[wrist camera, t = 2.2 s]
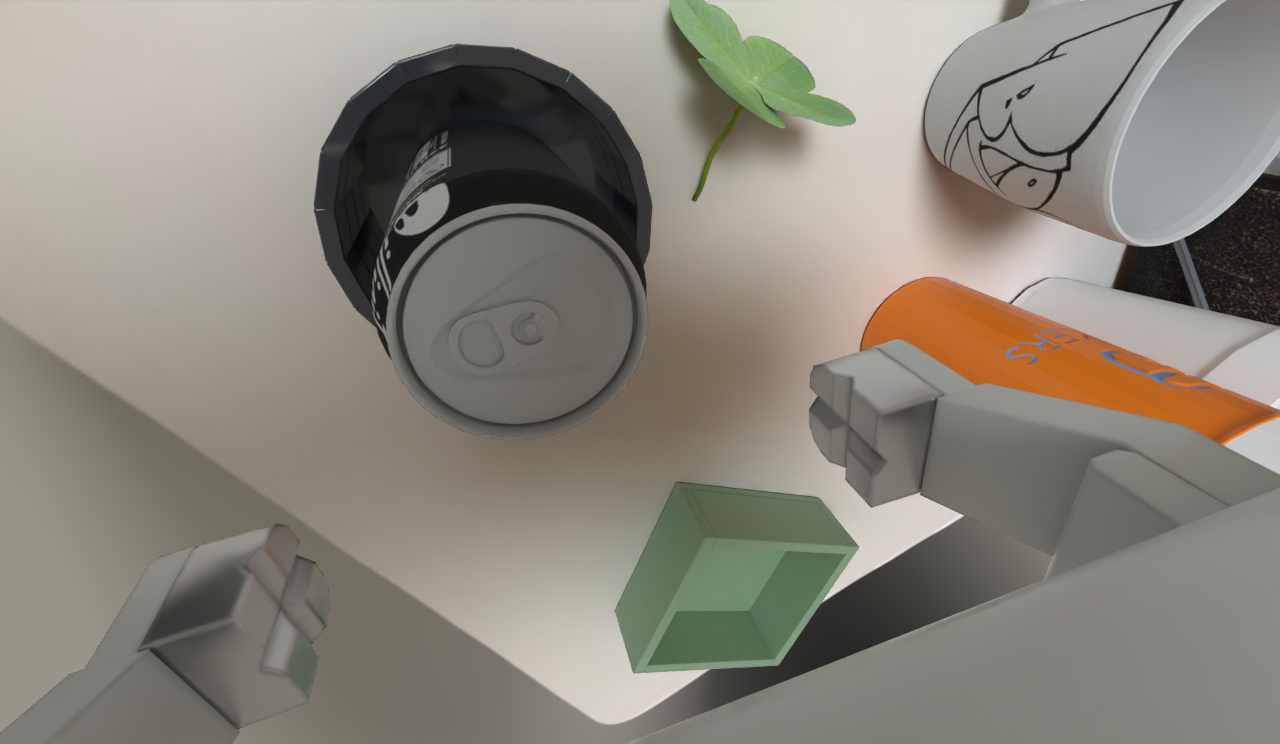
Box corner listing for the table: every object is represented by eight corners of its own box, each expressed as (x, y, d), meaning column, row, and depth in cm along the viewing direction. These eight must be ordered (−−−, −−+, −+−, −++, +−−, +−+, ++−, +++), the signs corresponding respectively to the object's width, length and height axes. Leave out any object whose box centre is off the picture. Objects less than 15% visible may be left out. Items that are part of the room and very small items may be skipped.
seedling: (664, 114, 27) (728, -26, 22) (786, 217, 27) (882, 98, 21) (572, 162, 23) (623, 2, 18) (715, 287, 22) (812, 159, 17)
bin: (614, 610, 38) (633, 673, 34) (676, 481, 33) (705, 537, 29) (748, 610, 42) (778, 665, 39) (818, 497, 38) (859, 547, 34)
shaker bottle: (938, 394, 36) (1346, 683, 20) (826, 397, 33) (1194, 737, 17) (1000, 264, 32) (1580, 491, 16) (878, 254, 29) (1432, 520, 13)
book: (1659, 261, 18) (1780, 227, 18) (1145, 162, 32) (1220, 144, 32) (1316, 640, 29) (1394, 614, 30) (1052, 445, 43) (1108, 429, 44)
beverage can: (590, 256, 24) (687, 400, 14) (446, 304, 24) (443, 491, 14) (544, 96, 21) (630, 141, 11) (371, 146, 20) (293, 243, 10)
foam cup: (990, 271, 32) (1262, 384, 21) (1116, 237, 34) (1429, 326, 23) (959, 402, 37) (1167, 546, 26) (1070, 367, 39) (1309, 489, 28)
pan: (319, 297, 22) (296, 340, 19) (361, -13, 18) (341, -28, 15) (578, 350, 27) (596, 392, 24) (661, 114, 23) (697, 125, 19)
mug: (949, -99, 22) (1253, -189, 14) (1107, -86, 24) (1455, -158, 16) (883, 196, 28) (1069, 258, 19) (1015, 185, 30) (1234, 238, 21)
